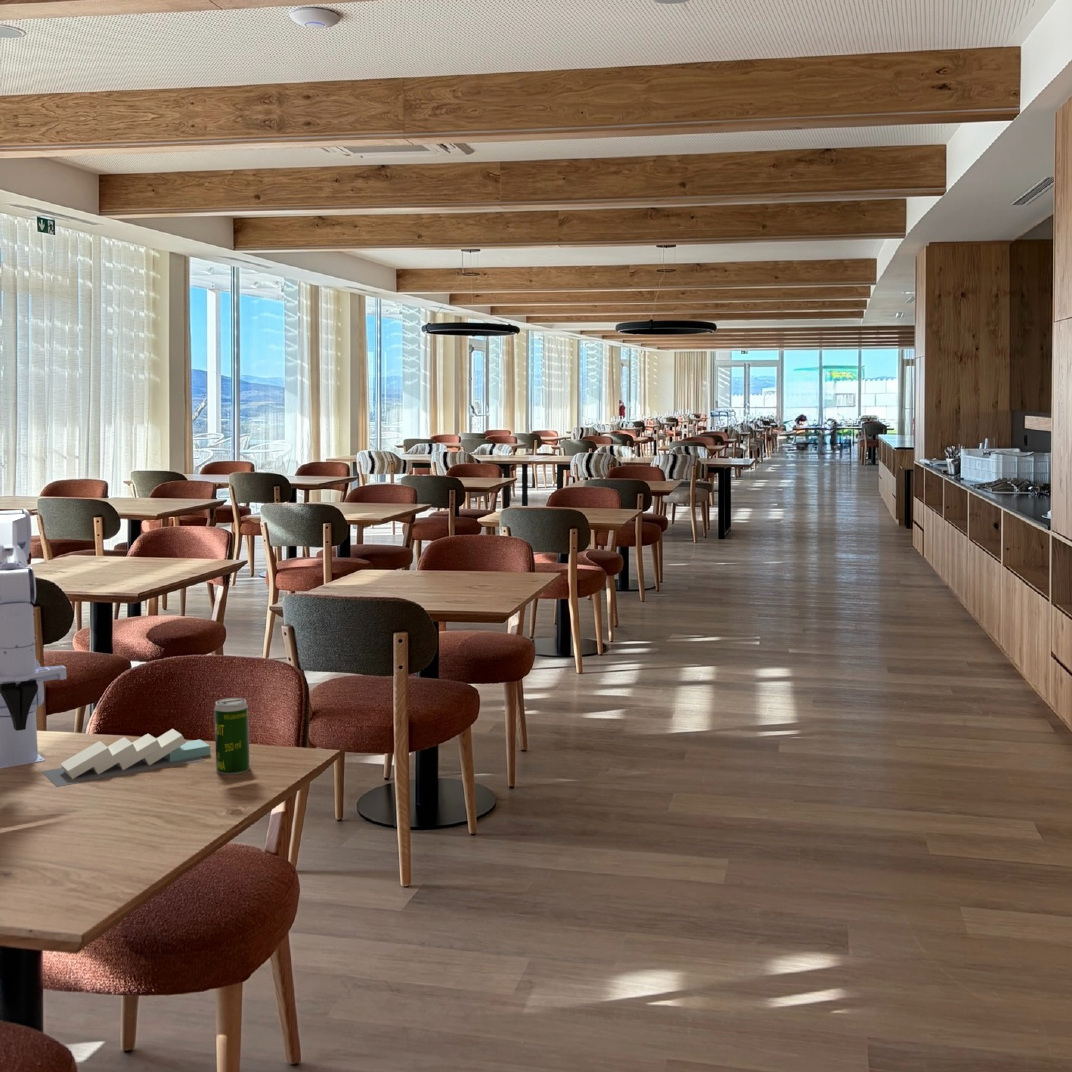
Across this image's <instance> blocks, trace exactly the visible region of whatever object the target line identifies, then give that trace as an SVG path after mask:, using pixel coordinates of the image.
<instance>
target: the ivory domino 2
mask: <svg viewBox="0 0 1072 1072" xmlns="http://www.w3.org/2000/svg"><path fill="white" fill-rule="evenodd" d="M107 747H108V748H109V750H110V752H111V754H112V756H111V757H109V758H108V759H106V760H104V761H102V762H101V763H99V764H97V765H96V766H94V767H92V768H91V769H92V770H93V771H95V772H96V773H97V774H100V773H102V772H104V771H105V770H107V769H109V768H110V767H112V766H114V765H115V764H117V763H119V762H120V761H122V760H124V759H125V758H127V757H129V756H130V755H132V754H134V753H135V752H137V750H136V748H135V747H134V745H133V743H132V742H131V741H130V740H129V739H128V738H126V737H125V736H123V737H121V738H120V739H117V740H116V741H115V742H113V743H111V744H109V745H108V746H107Z"/></svg>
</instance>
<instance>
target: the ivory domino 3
mask: <svg viewBox="0 0 1072 1072" xmlns="http://www.w3.org/2000/svg"><path fill="white" fill-rule="evenodd" d="M156 738H157V737H156ZM156 738H155V737H154V736H153V735H151V734H149V733H147V734H144V735H143V736H141V737H140V738H138V739H136V740H134V741H133V742H132V743H133V745H134V747H135V748H136V750H137V752H135V753H134V754H132V755H130V756H129V757H127V758H125V759H124V760H122V761H120V762H119V763H117V764H116V765H117V766H119V767H120V768H121V769H122V770H125V769H126V768H128V767H130V766H131V765H133V764H135V763H136V762H138V761H140V760H141V759H143V758H145V757H147V756H148V755H150V754H152V753H153V752H155V751H157V750H158V749H160V748H161V746H160V744H159V742H158V740H157V739H156Z"/></svg>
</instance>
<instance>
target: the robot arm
mask: <svg viewBox="0 0 1072 1072" xmlns="http://www.w3.org/2000/svg"><path fill="white" fill-rule="evenodd" d="M31 519H32V518H31V513H30V512H29V511H28V510H27V509H26V508H23V509H17V510H16V509H13V510H12V509H11V510H0V769H6V768H10V767H12V768H13V767H17V766H22V765H23V766H24V765H30V764H34V763H35V764H37V763H41V762H46V760H45V758H44V757H43V756H42V755H41V754H40V753H39V751H38V750H39V748H38V731H37V711H38V707H41V706H42V704H43V703H44V701H45V688H44V682H45V681H46V682H47V681H52V680H60V681H62V680H67V667H66V666H64V665H55V666H41V663H40V662H39V660H38V659H37V658H36V656H37V655H36V638H35V637H36V636H35V635H36V634H35V618H34V616H35V615H34V605H35V604H36V599H37V584H36V575H35V573H34V569H33V567H31V566H29V563H28V560H29V559H30V556H29V554H30V553H31V542H32V521H31ZM31 602H32V603H33V604H34V605H33V604H32V603H31Z"/></svg>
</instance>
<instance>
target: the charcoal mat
mask: <svg viewBox="0 0 1072 1072" xmlns="http://www.w3.org/2000/svg"><path fill="white" fill-rule="evenodd" d="M203 761H205V759H203V758H202V757H195V758H190V759H184V760H178V761H173V762H170V761H168V760H167V759H165V758H164V757H162V758H161V759H159V760H157V761H156V762H154V763H153V764H151V765H148V764H147V763H145V762H144V761H143V760H142V759H141V760H140V761H138V762H136V763H135V764H133V765H131V766H130V767H128V768H126V769H125V770H122V769H121V768H120V767H119V766H117V765H116V764H115V765H114V766H112V767H110V768H109V769H107V770H105V771H104V772H102V773H100V774H97V773H96V772H95V771H93V770H92V769H89V770H87V771H86V772H84V773H82V774H80V775H79V776H77V777H75V778H74V779H72V778H71V777H70V776H69V775H68V774H67V773H66V772H65V771H64V769H63V768H62V767H59V768H54V769H52V768H51V769H47V770H42V771H41V773H42V774H43V776H45V777H46V778H47V779H48V780H49V781H50V782H51V783H52V784H53V786H55V787H57V788H58V787H63V786H69V785H75V784H81V783H87V782H91V781H92V782H93V781H97V780H104V779H108V778H109V779H110V778H114V777H119V776H125V775H131V774H137V773H142V772H147V771H154V770H159V769H165V768H170V767H176V766H181V765H186V764H193V763H197V762H203Z"/></svg>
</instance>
